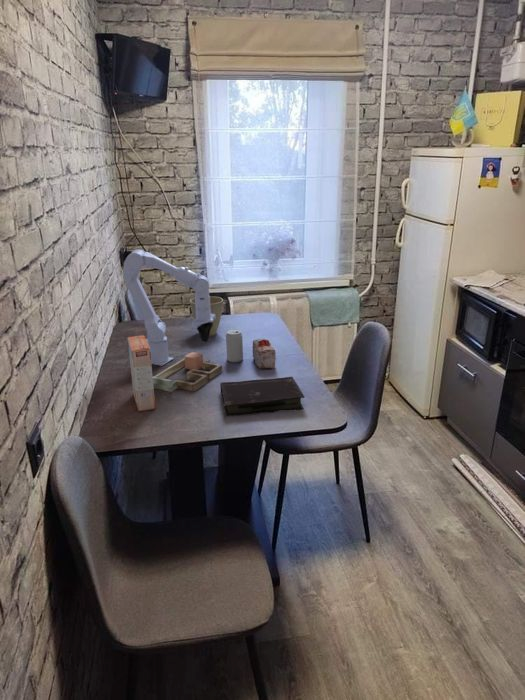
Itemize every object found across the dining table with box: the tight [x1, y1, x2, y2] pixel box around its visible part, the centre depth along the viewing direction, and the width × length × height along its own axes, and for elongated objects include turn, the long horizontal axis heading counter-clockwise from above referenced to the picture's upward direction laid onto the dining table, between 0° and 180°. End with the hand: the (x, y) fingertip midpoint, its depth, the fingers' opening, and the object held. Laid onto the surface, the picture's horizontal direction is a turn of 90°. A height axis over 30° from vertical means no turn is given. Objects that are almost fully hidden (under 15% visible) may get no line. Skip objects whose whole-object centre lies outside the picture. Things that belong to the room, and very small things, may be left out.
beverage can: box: [225, 329, 244, 363], centre depth 192 cm, size 6×6×12 cm
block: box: [183, 351, 204, 370], centre depth 187 cm, size 5×5×5 cm
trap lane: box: [153, 357, 223, 393], centre depth 178 cm, size 17×25×4 cm
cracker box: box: [127, 335, 156, 412], centre depth 158 cm, size 14×6×21 cm, turn 20°
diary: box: [220, 376, 305, 417], centre depth 160 cm, size 19×25×5 cm
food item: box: [252, 338, 277, 370], centre depth 188 cm, size 14×8×10 cm, turn 15°
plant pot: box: [189, 295, 224, 337], centre depth 223 cm, size 15×15×16 cm
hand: (205, 341), depth 193 cm, fingers closed
